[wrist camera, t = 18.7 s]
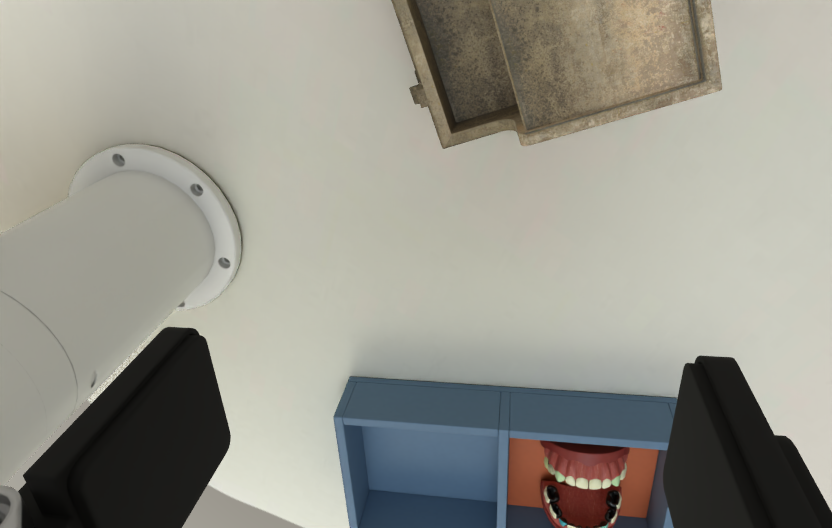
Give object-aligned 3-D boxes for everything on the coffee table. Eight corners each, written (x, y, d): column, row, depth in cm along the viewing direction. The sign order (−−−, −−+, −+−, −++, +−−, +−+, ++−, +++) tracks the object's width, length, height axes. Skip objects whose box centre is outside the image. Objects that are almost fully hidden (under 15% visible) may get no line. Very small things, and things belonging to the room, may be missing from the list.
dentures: (540, 550, 43) (545, 460, 39) (537, 499, 48) (540, 412, 44) (629, 556, 43) (643, 465, 39) (618, 503, 47) (629, 415, 43)
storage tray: (363, 488, 52) (350, 534, 48) (349, 376, 46) (332, 416, 42) (652, 517, 48) (664, 569, 44) (676, 397, 42) (692, 444, 38)
